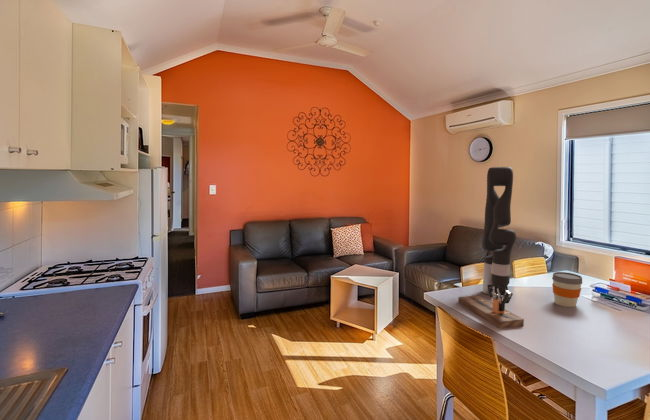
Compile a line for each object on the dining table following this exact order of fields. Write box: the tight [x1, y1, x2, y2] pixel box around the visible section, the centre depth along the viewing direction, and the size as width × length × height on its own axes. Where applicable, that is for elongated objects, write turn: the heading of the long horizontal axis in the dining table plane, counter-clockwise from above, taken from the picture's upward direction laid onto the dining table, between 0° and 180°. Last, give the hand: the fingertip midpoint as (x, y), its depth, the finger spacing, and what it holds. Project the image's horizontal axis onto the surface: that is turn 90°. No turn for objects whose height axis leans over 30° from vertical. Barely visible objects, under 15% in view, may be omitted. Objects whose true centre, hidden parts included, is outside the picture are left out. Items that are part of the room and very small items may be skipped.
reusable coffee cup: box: [551, 271, 583, 308], centre depth 172 cm, size 12×13×15 cm
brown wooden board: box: [457, 294, 525, 329], centre depth 161 cm, size 12×30×3 cm, turn 12°
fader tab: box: [492, 298, 506, 314], centre depth 154 cm, size 4×3×6 cm
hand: (498, 309), depth 154 cm, fingers closed on fader tab, 3 cm apart
